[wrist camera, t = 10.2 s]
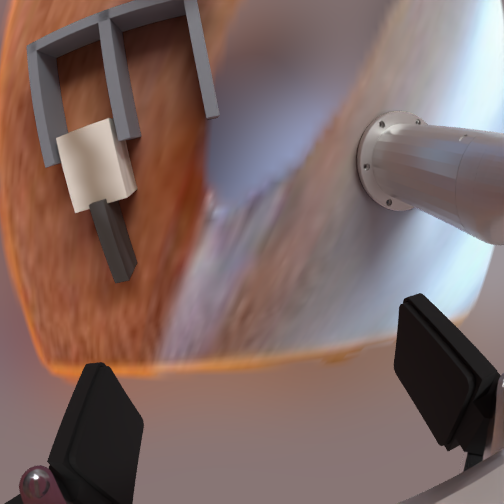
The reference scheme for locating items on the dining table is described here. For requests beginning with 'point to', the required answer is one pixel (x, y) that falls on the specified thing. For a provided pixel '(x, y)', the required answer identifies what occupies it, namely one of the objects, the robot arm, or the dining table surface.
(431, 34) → the dining table surface
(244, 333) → the dining table surface
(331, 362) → the dining table surface
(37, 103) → the lane rack
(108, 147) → the cream block
